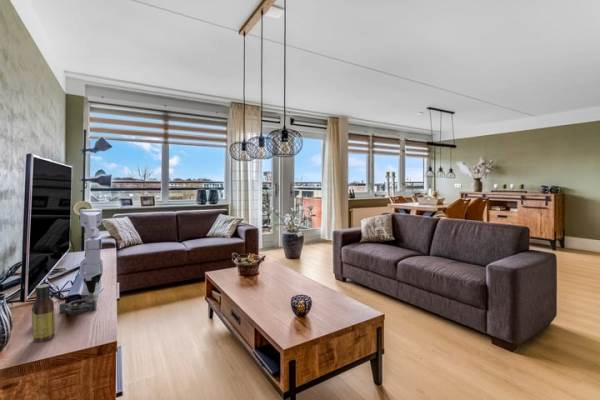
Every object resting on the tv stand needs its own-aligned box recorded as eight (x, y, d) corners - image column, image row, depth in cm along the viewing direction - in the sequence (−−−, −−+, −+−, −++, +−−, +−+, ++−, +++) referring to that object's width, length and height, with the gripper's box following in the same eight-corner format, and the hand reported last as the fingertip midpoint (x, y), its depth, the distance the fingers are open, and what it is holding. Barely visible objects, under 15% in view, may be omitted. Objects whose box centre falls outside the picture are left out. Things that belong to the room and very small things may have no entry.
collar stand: (63, 309, 137) (63, 299, 137) (98, 306, 141) (98, 297, 141) (56, 316, 130) (56, 306, 130) (93, 312, 134) (93, 303, 134)
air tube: (99, 295, 148) (99, 281, 148) (96, 298, 144) (96, 284, 144) (89, 296, 147) (89, 282, 146) (86, 299, 143) (86, 284, 143)
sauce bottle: (41, 334, 114) (41, 282, 113) (59, 334, 115) (59, 282, 114) (27, 343, 108) (27, 288, 107) (45, 343, 108) (45, 288, 107)
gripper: (88, 259, 150) (88, 286, 151) (77, 267, 137) (77, 297, 137) (104, 259, 153) (104, 285, 153) (95, 266, 139) (95, 295, 140)
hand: (93, 291), depth 145 cm, fingers closed on air tube, 4 cm apart
